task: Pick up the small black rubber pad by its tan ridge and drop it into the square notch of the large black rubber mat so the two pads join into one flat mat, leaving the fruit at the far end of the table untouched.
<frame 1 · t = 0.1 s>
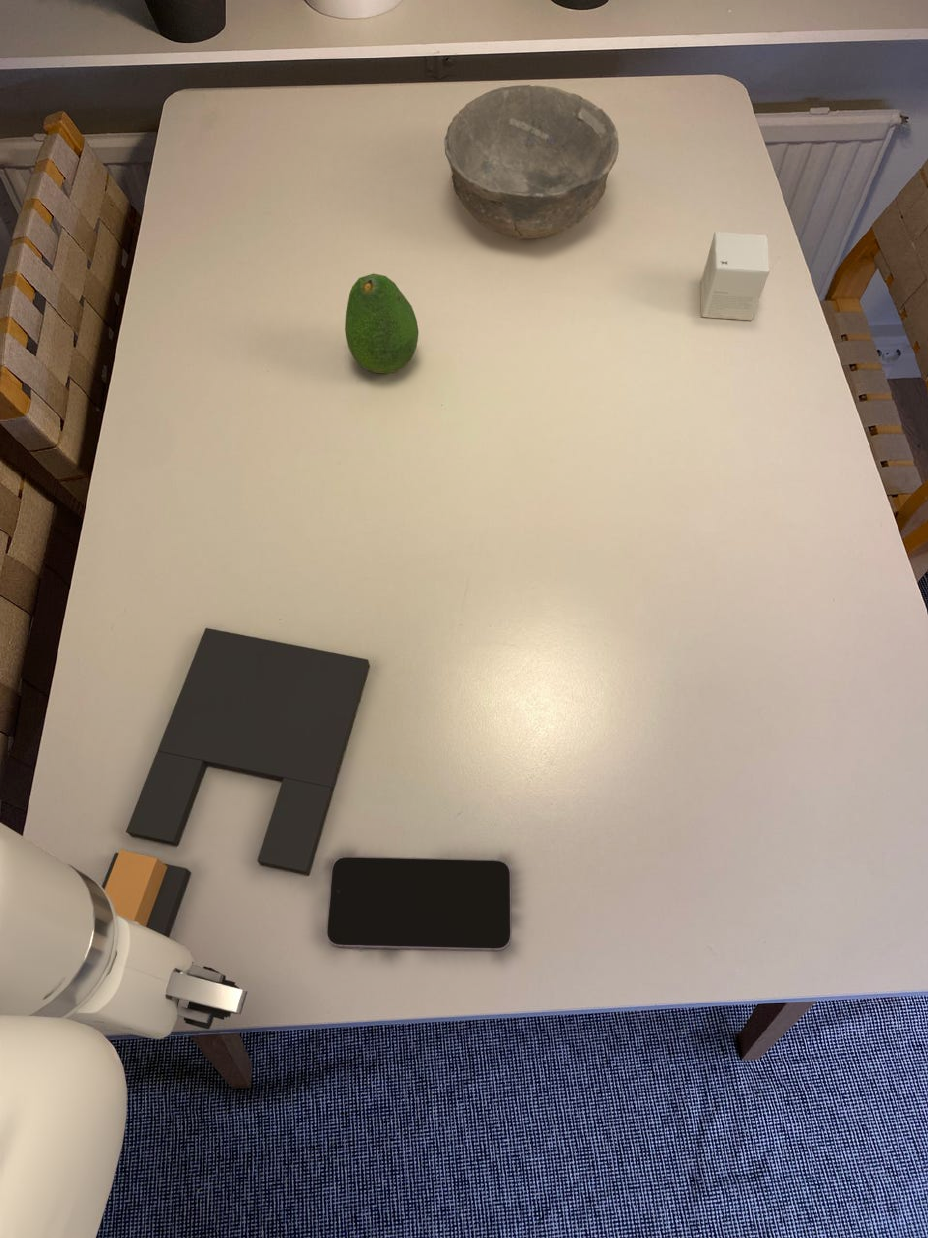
hand: (141, 984, 58), 16 cm above the table, tool pointing down, fingers open, 9 cm apart
pad piece: (142, 902, 77), on the table
fruit: (386, 365, 105), on the table
product box: (725, 302, 109), on the table
smartphone: (420, 904, 77), on the table
mat: (255, 747, 83), on the table
bowl: (526, 211, 117), on the table
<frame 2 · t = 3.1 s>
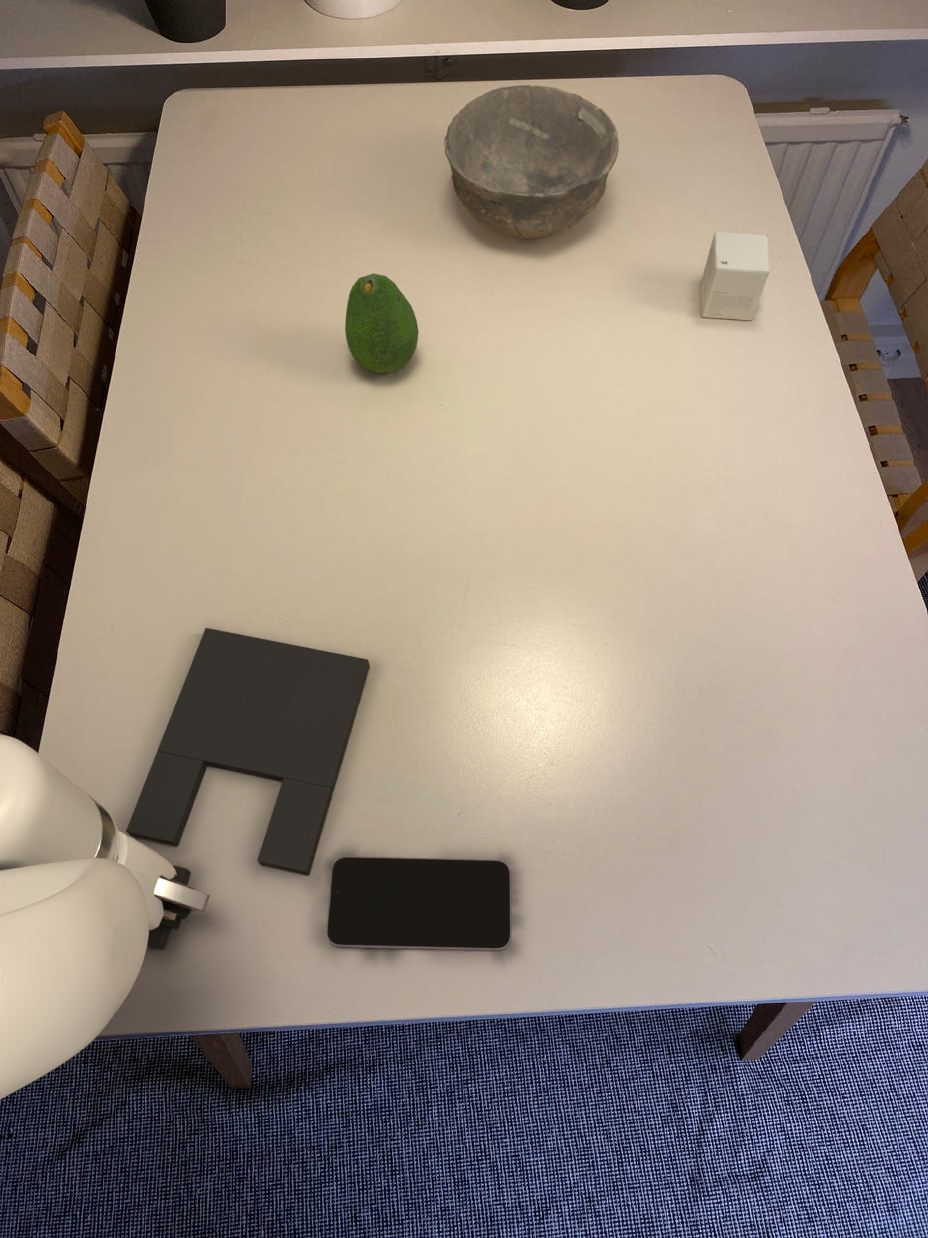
hand: (139, 900, 76), 1 cm above the table, tool pointing down, fingers closed on pad piece, 6 cm apart
pad piece: (142, 902, 77), on the table, touching gripper
everything else where it was.
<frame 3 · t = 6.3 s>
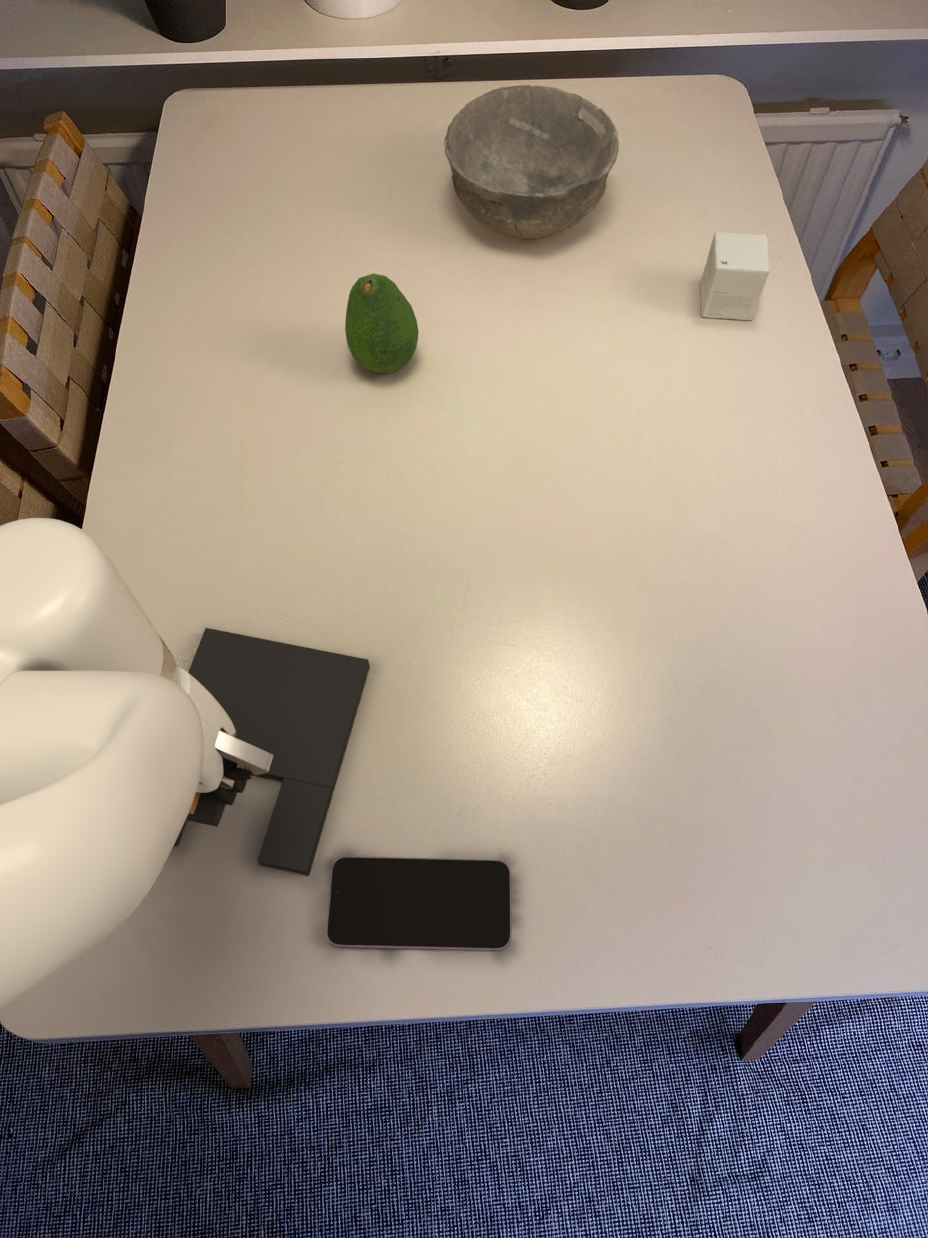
hand: (190, 775, 69), 12 cm above the table, tool pointing down, fingers closed on pad piece, 6 cm apart
pad piece: (192, 778, 70), point 11 cm above the table, touching gripper
everything else where it was.
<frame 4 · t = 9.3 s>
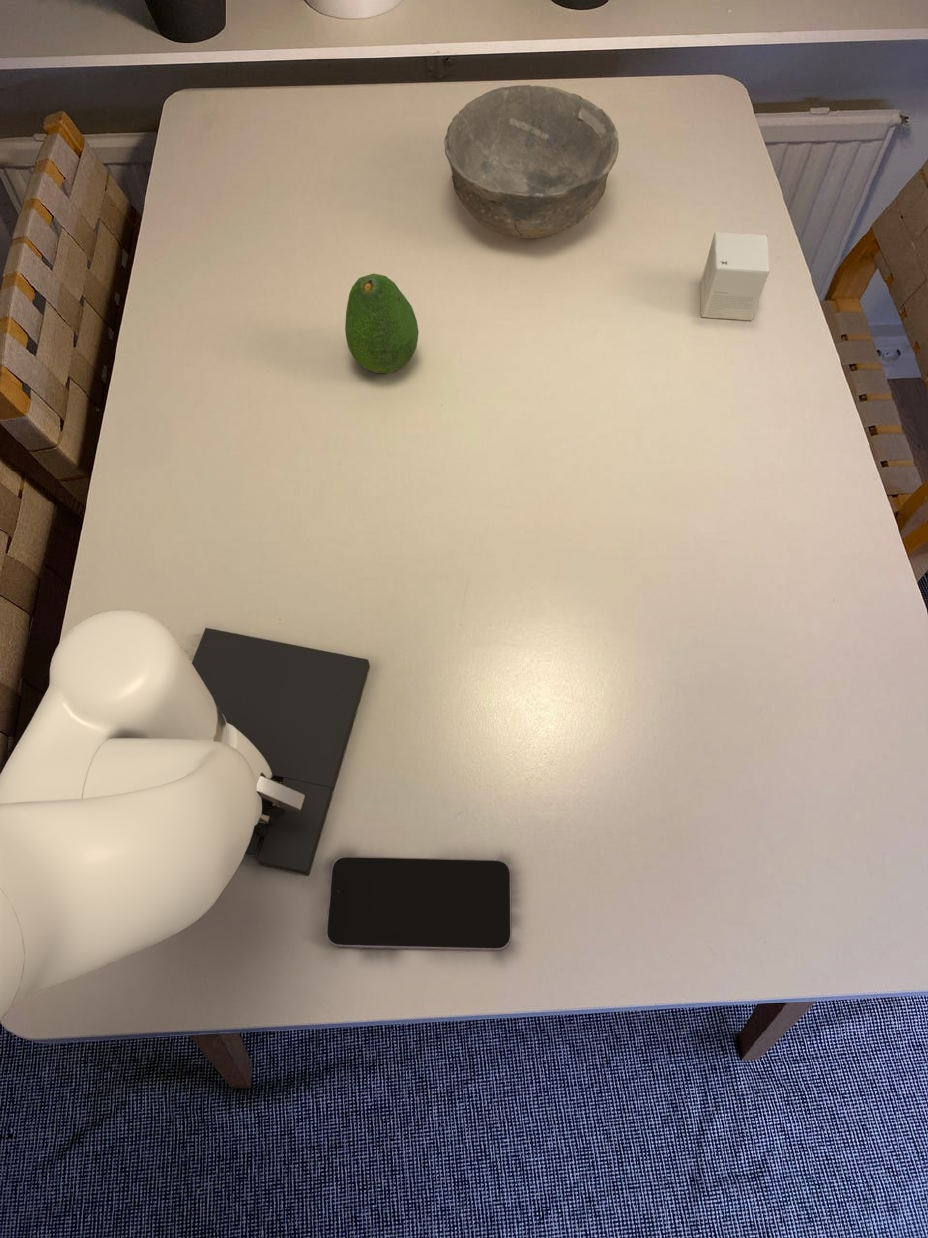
hand: (228, 810, 78), 2 cm above the table, tool pointing down, fingers closed on pad piece, 6 cm apart
pad piece: (230, 812, 79), point 1 cm above the table, touching gripper
everything else where it was.
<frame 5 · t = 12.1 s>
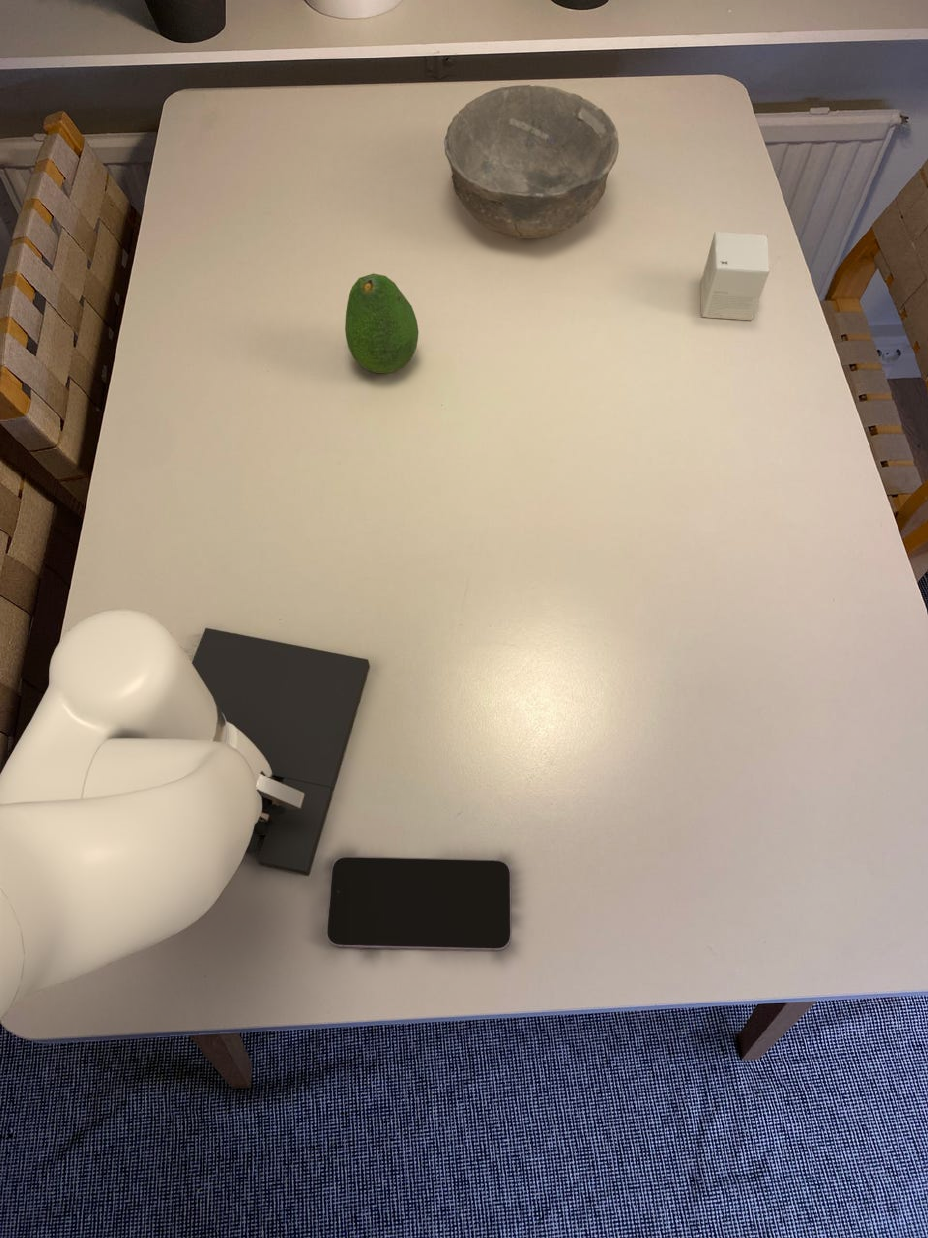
hand: (228, 808, 79), 2 cm above the table, tool pointing down, fingers closed on pad piece, 6 cm apart
pad piece: (230, 810, 79), point 1 cm above the table, touching gripper
everything else where it was.
when the fingers open (2 cm above the table, at t = 14.8 s): pad piece drops 2 cm, on the table.
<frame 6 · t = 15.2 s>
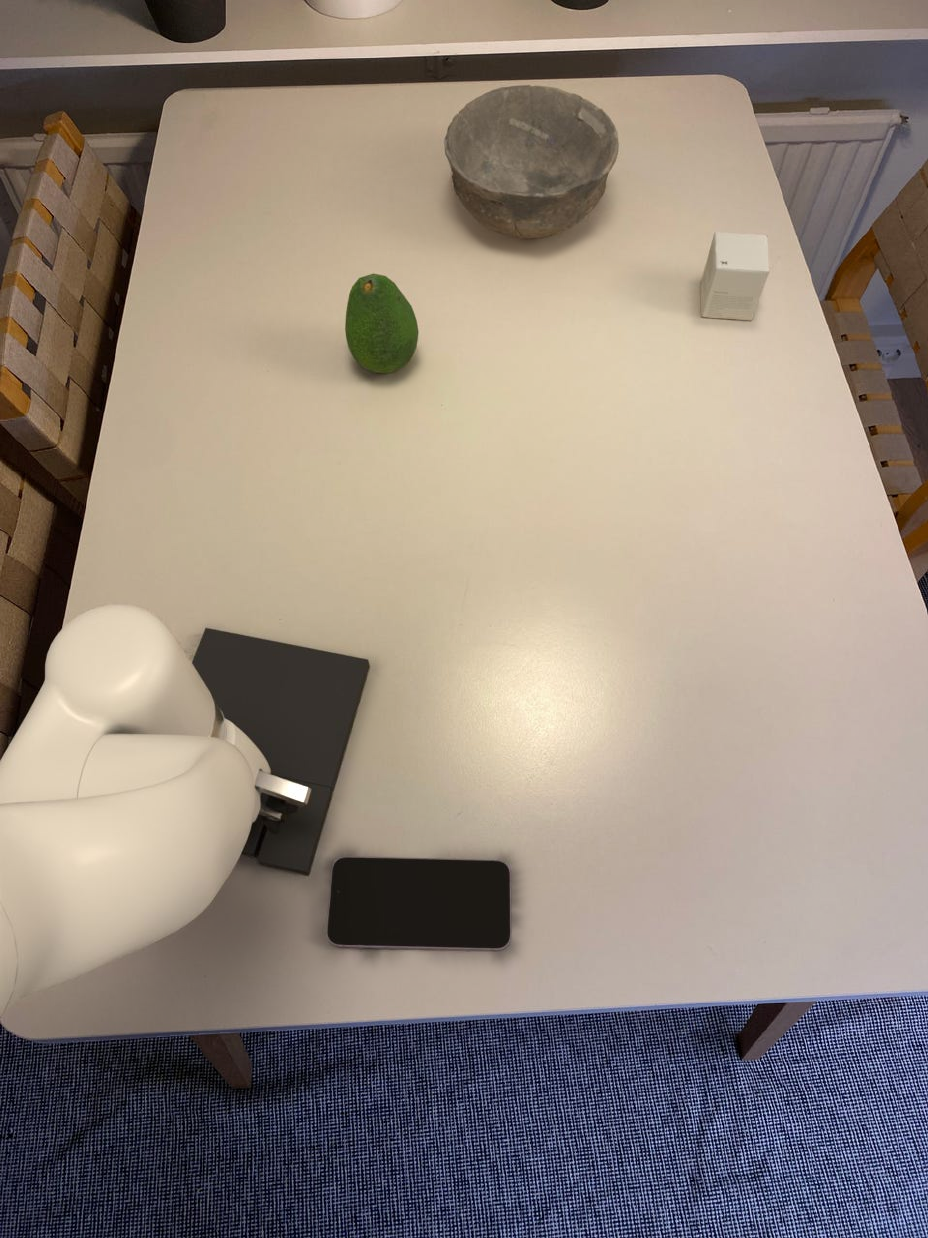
hand: (225, 804, 77), 3 cm above the table, tool pointing down, fingers open, 9 cm apart
pad piece: (232, 814, 80), on the table
everything else where it was.
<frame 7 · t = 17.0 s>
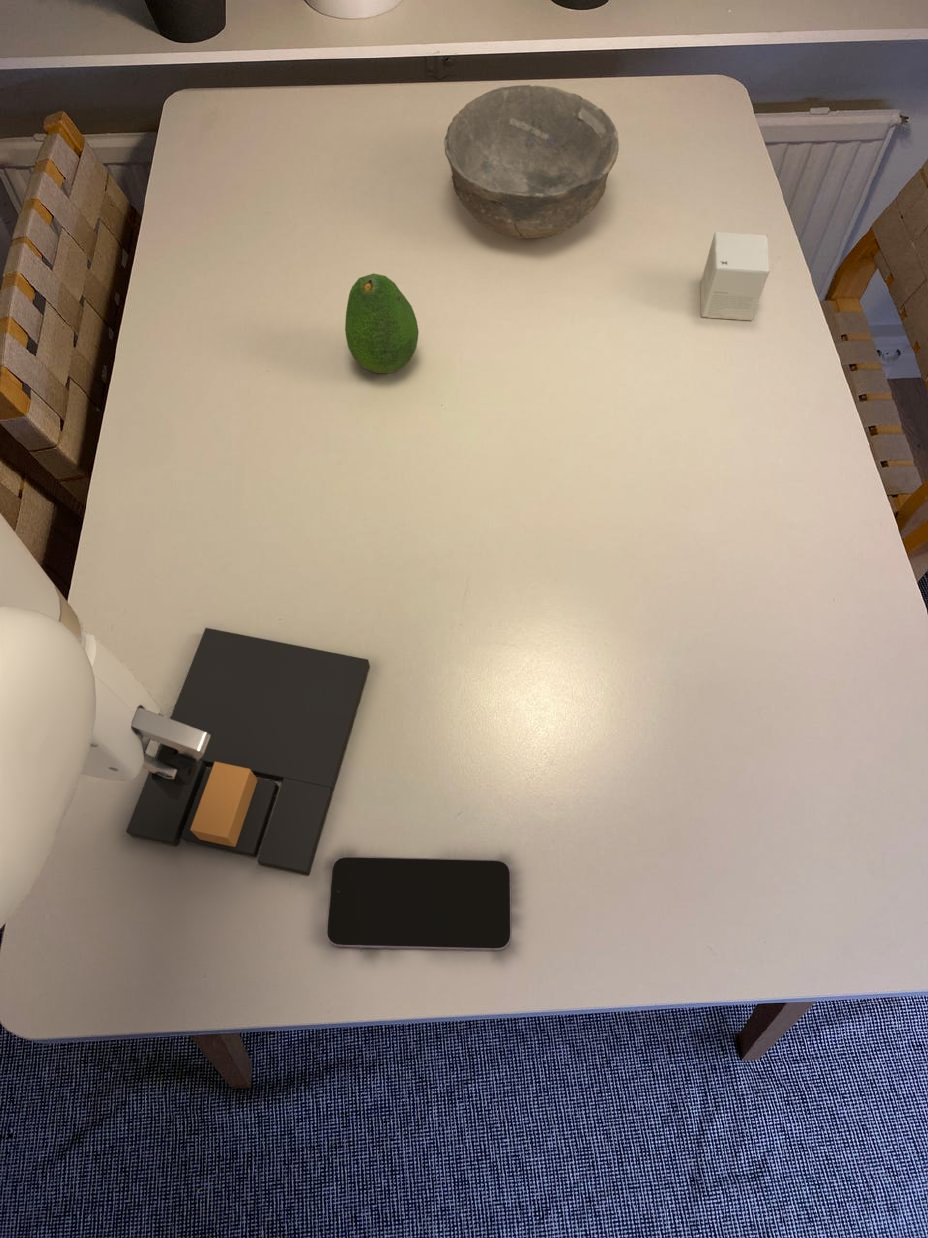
hand: (114, 762, 61), 20 cm above the table, tool pointing down, fingers open, 9 cm apart
nothing on the table moved.
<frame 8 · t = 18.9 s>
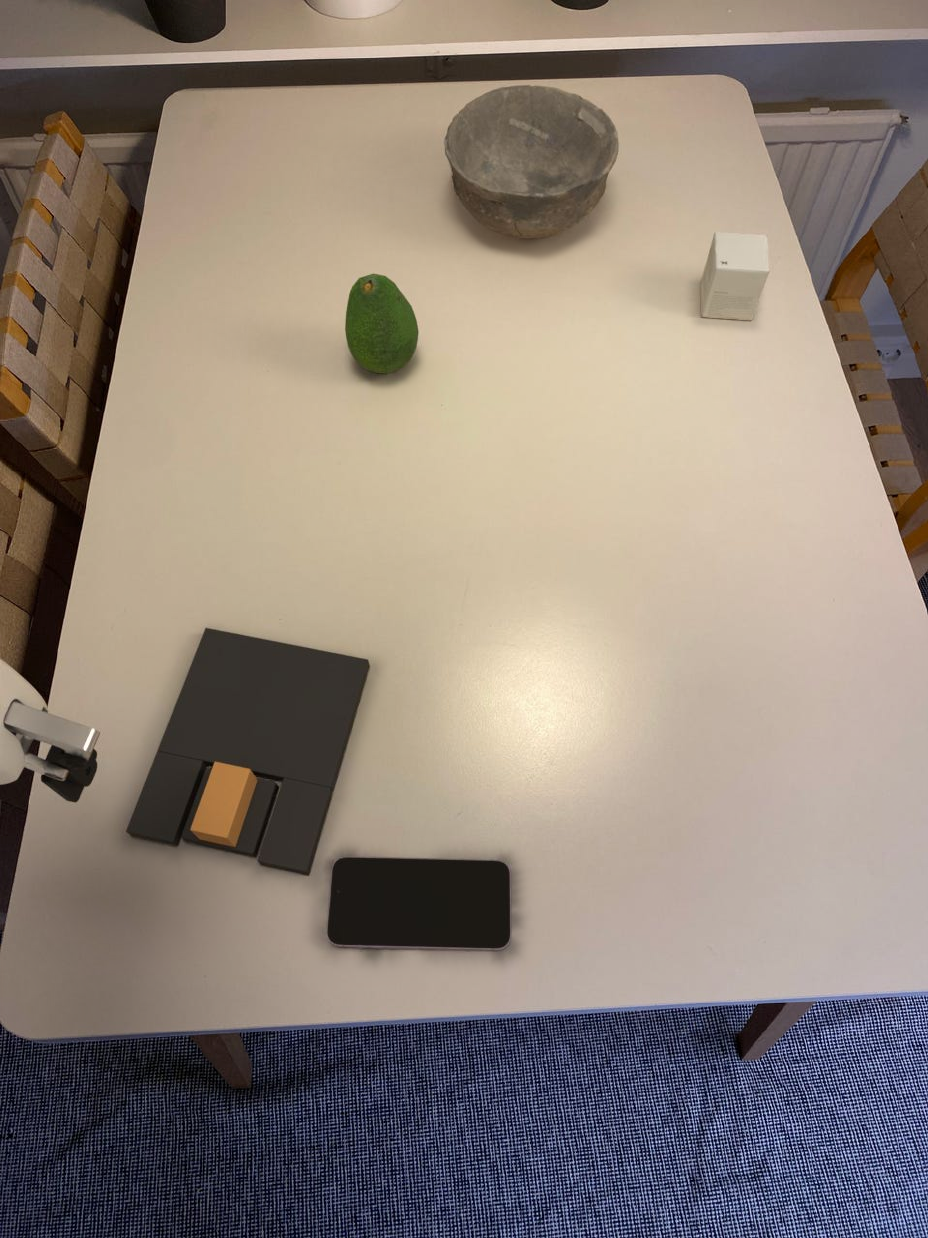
hand: (7, 761, 55), 26 cm above the table, tool pointing down, fingers open, 9 cm apart
nothing on the table moved.
at the end: pad piece 0.0 cm from the target spot on the mat, point 0.0 cm above the mat's base; pad piece tilted 0°; fruit moved 0.2 cm from its start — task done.
